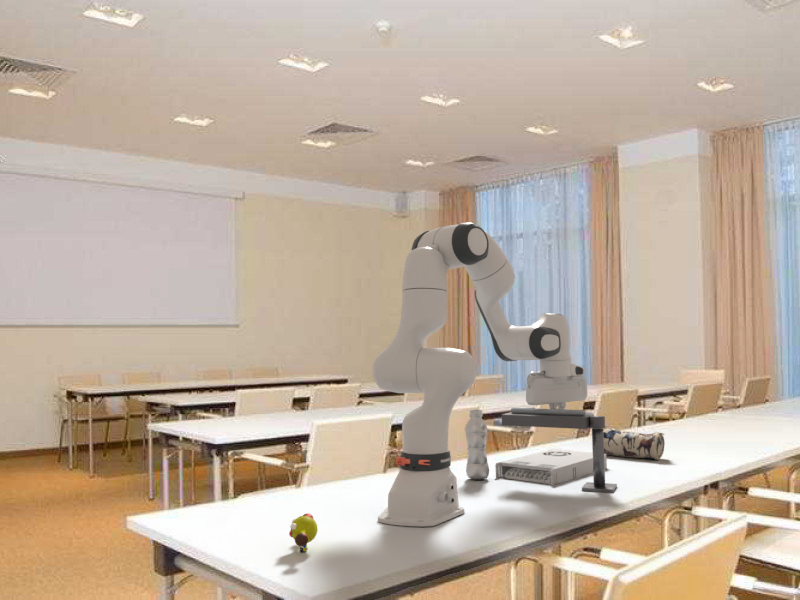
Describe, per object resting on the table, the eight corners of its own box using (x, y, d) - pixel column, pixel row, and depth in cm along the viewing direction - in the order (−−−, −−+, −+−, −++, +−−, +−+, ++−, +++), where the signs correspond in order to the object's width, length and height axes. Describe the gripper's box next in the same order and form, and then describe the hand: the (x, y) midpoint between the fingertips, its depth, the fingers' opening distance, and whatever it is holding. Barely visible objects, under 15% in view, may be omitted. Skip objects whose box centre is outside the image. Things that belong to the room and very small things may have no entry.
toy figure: (293, 539, 156) (293, 506, 157) (320, 538, 157) (319, 505, 157) (285, 565, 138) (284, 528, 139) (315, 564, 139) (314, 527, 139)
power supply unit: (495, 480, 219) (495, 463, 219) (553, 464, 243) (553, 448, 244) (552, 488, 206) (551, 469, 206) (607, 470, 231) (606, 454, 231)
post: (612, 492, 195) (610, 431, 196) (581, 490, 198) (579, 430, 199) (616, 486, 202) (614, 427, 203) (586, 485, 205) (584, 426, 206)
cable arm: (608, 426, 203) (608, 409, 204) (600, 429, 197) (600, 412, 197) (512, 422, 218) (512, 406, 218) (501, 425, 211) (501, 408, 211)
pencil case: (596, 456, 254) (595, 427, 255) (609, 453, 260) (608, 424, 261) (658, 462, 239) (657, 431, 240) (670, 459, 245) (668, 429, 246)
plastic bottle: (488, 481, 213) (486, 411, 214) (464, 481, 214) (463, 411, 215) (490, 477, 219) (488, 409, 220) (467, 477, 221) (465, 409, 222)
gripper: (534, 372, 205) (536, 423, 204) (589, 368, 215) (592, 416, 214) (519, 371, 210) (522, 421, 210) (574, 367, 220) (576, 414, 220)
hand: (557, 418), depth 212 cm, fingers closed
